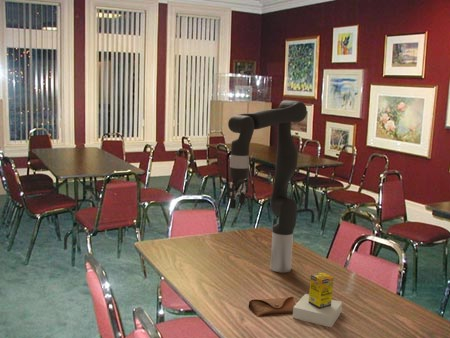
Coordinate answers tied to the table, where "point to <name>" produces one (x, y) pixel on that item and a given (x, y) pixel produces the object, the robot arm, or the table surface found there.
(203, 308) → the table surface
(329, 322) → the plate
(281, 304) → the sunglasses case
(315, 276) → the supplement box
